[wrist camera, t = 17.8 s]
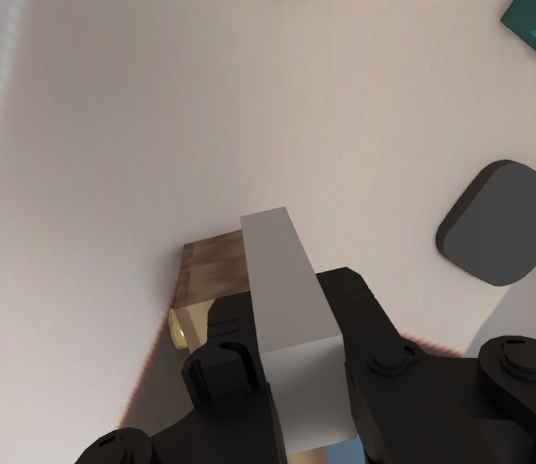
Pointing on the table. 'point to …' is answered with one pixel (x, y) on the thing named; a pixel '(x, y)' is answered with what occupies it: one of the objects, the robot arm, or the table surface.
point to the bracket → (522, 20)
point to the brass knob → (176, 331)
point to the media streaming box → (494, 225)
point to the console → (214, 286)
